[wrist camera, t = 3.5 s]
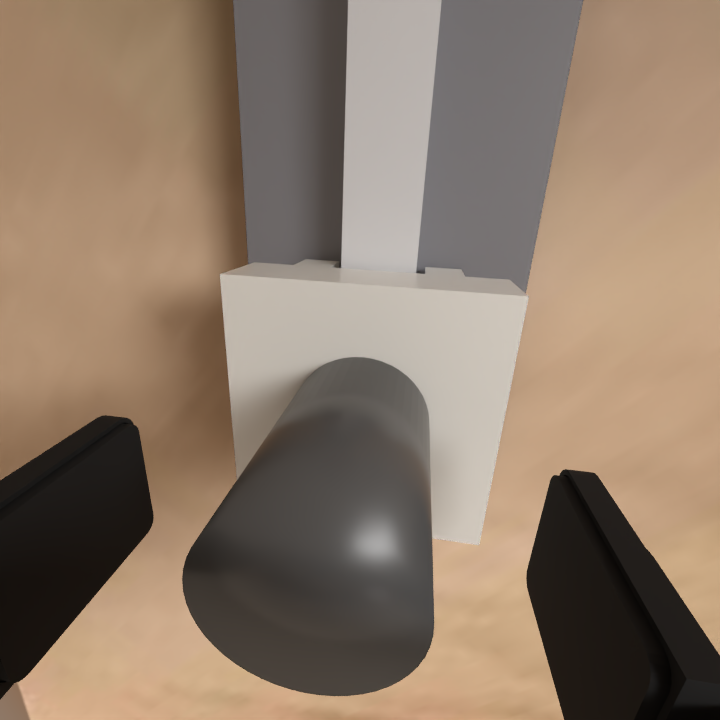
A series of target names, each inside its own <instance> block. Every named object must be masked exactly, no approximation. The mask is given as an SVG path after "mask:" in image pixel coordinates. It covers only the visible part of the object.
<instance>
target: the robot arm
mask: <svg viewBox="0 0 720 720" xmlns="http://www.w3.org/2000/svg"><path fill="white" fill-rule="evenodd" d="M152 523H153V510H152V504H151V499H150V493H149V487H148V481H147V475H146V470H145V464H144V458H143V452H142V446H141V441H140V435H139V430H138V428H137V427H136V426H135V425H133V422H132V421H131V420H130V419H128V418H123V417H114V416H101V417H98V418H97V419H95V420H94V421H92V422H90V423H89V424H87V425H86V426H84V427H83V428H81V429H80V430H78V431H76V432H75V433H73V434H72V435H70V436H69V437H67V438H66V439H64V440H62V441H61V442H59V443H58V444H56V445H55V446H53V447H52V448H50V449H49V450H47V451H45V452H44V453H42V454H41V455H39V456H38V457H36V458H35V459H33V460H31V461H30V462H28V463H27V464H25V465H24V466H22V467H21V468H19V469H17V470H16V471H14V472H13V473H11V474H10V475H8V476H7V477H5V478H4V479H2V480H0V699H1V698H2V697H3V696H4V695H5V693H6V692H7V691H8V690H9V689H10V688H11V686H12V685H13V684H14V683H16V682H19V681H21V680H22V679H23V678H25V677H26V676H27V675H28V674H29V673H30V672H31V670H32V669H33V668H34V667H35V666H36V665H37V663H38V662H39V661H40V660H41V659H42V657H43V656H44V655H45V654H46V653H47V652H48V650H49V649H50V648H51V647H52V646H53V644H54V643H55V642H56V641H57V640H58V639H59V637H60V636H61V635H62V634H63V633H64V631H65V630H66V629H67V628H68V627H69V625H70V624H71V623H72V622H73V621H74V620H75V618H76V617H77V616H78V615H79V614H80V612H81V611H82V610H83V609H84V608H85V607H86V605H87V604H88V603H89V602H90V601H91V599H92V598H93V597H94V596H95V595H96V594H97V592H98V591H99V590H100V589H101V588H102V586H103V585H104V584H105V583H106V582H107V580H108V579H109V578H110V577H111V576H112V575H113V573H114V572H115V571H116V570H117V569H118V567H119V566H120V565H121V564H122V563H123V562H124V560H125V559H126V558H127V557H128V556H129V554H130V553H131V552H132V551H133V550H134V549H135V547H136V546H137V545H138V544H139V543H140V541H141V540H142V539H143V538H144V537H145V535H146V534H147V533H148V532H149V530H150V528H151V526H152ZM527 588H528V592H529V596H530V599H531V603H532V607H533V610H534V614H535V617H536V621H537V624H538V628H539V631H540V635H541V638H542V642H543V646H544V649H545V653H546V656H547V660H548V663H549V667H550V670H551V674H552V677H553V681H554V685H555V688H556V692H557V695H558V699H559V702H560V706H561V709H562V713H563V716H564V720H720V655H719V654H718V652H717V651H716V649H715V648H714V646H713V645H712V643H711V642H710V640H709V639H708V637H707V636H706V634H705V633H704V631H703V630H702V628H701V627H700V626H699V624H698V623H697V621H696V620H695V618H694V617H693V615H692V614H691V612H690V611H689V609H688V608H687V606H686V605H685V603H684V602H683V600H682V599H681V597H680V596H679V594H678V593H677V591H676V590H675V588H674V587H673V585H672V584H671V582H670V581H669V579H668V578H667V576H666V575H665V573H664V572H663V570H662V569H661V567H660V566H659V564H658V563H657V561H656V560H655V558H654V557H653V556H652V555H651V553H650V552H649V551H648V550H647V549H646V548H645V547H644V545H643V544H642V542H641V541H640V539H639V537H638V536H637V534H636V533H635V531H634V530H633V528H632V527H631V525H630V524H629V522H628V521H627V519H626V518H625V516H624V515H623V513H622V512H621V510H620V509H619V507H618V506H617V504H616V503H615V501H614V500H613V498H612V497H611V495H610V494H609V492H608V491H607V489H606V488H605V486H604V485H603V483H602V482H601V480H600V479H599V477H598V476H597V475H596V474H595V473H592V472H583V471H575V470H566V469H565V470H563V471H562V472H561V473H560V476H557V475H554V476H553V477H552V478H551V480H550V484H549V488H548V492H547V496H546V499H545V503H544V507H543V511H542V515H541V519H540V523H539V526H538V530H537V534H536V538H535V542H534V546H533V550H532V554H531V557H530V561H529V565H528V569H527Z"/></svg>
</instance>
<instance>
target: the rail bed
mask: <svg viewBox="0 0 720 720" xmlns="http://www.w3.org/2000/svg"><path fill="white" fill-rule="evenodd" d="M582 4H583V0H233V6H234V24H235V41H236V59H237V76H238V94H239V112H240V129H241V147H242V164H243V182H244V199H245V217H246V235H247V252H248V264H251V263H254V262H257V263H272V264H287V265H294V264H297V263H299V262H301V261H303V260H305V259H312V260H327V261H339V268H346V269H361V270H375V271H390V272H405V273H420V274H425V267H434V268H449V269H461V270H462V272H463V273H464V275H465V277H479V278H493V279H508V280H511V281H512V282H513V283H514V284H515V285H516V286H517V287H519V288H520V289H521V290H522V291H523V292H524V293H525V294H526V289H527V284H528V279H529V274H530V269H531V264H532V259H533V253H534V248H535V243H536V238H537V233H538V228H539V223H540V218H541V213H542V208H543V203H544V197H545V192H546V187H547V182H548V177H549V172H550V167H551V162H552V157H553V152H554V146H555V141H556V136H557V131H558V126H559V121H560V116H561V111H562V106H563V101H564V96H565V90H566V85H567V80H568V75H569V70H570V65H571V60H572V55H573V50H574V45H575V40H576V34H577V29H578V24H579V19H580V14H581V9H582Z"/></svg>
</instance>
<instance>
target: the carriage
mask: <svg viewBox="0 0 720 720" xmlns="http://www.w3.org/2000/svg"><path fill="white" fill-rule="evenodd" d="M220 283H221V295H222V307H223V319H224V331H225V343H226V355H227V367H228V379H229V391H230V403H231V415H232V427H233V439H234V451H235V464H236V476H237V481H236V482H235V484H234V485H233V487H232V488H231V490H230V491H229V493H228V494H227V496H226V497H225V499H224V500H223V502H222V503H221V505H220V506H219V507H218V509H217V510H216V512H215V513H214V515H213V516H212V518H211V519H210V521H209V522H208V524H207V525H206V527H205V528H204V529H203V531H202V532H201V534H200V535H199V537H198V538H197V540H196V541H195V543H194V544H193V546H192V547H191V549H190V551H189V553H188V555H187V557H186V561H185V564H184V568H183V578H182V581H183V592H184V596H185V600H186V604H187V606H188V608H189V611H190V613H191V615H192V617H193V619H194V621H195V622H196V624H197V626H198V627H199V628H200V630H201V631H202V633H203V634H204V635H205V637H206V638H207V639H208V640H209V641H210V642H211V643H212V644H213V645H214V646H215V647H216V648H217V649H218V650H219V651H220V652H221V653H222V654H224V655H225V656H226V657H227V658H229V659H230V660H231V661H233V662H234V663H235V664H237V665H238V666H240V667H242V668H243V669H245V670H246V671H248V672H250V673H252V674H254V675H256V676H258V677H260V678H261V679H264V680H266V681H269V682H271V683H273V684H276V685H279V686H282V687H285V688H288V689H291V690H296V691H300V692H304V693H310V694H316V695H327V696H350V695H359V694H365V693H370V692H374V691H378V690H380V689H383V688H386V687H389V686H391V685H393V684H395V683H397V682H399V681H400V680H402V679H403V678H405V677H406V676H408V675H409V674H410V673H411V672H412V671H414V670H415V669H416V668H417V667H418V666H419V664H420V663H421V662H422V660H423V659H424V658H425V656H426V654H427V652H428V650H429V648H430V645H431V641H432V638H433V631H434V599H433V556H432V538H433V539H440V540H447V541H454V542H461V543H467V544H474V545H479V543H480V538H481V533H482V528H483V523H484V518H485V513H486V508H487V503H488V498H489V493H490V488H491V483H492V478H493V473H494V468H495V463H496V458H497V453H498V448H499V443H500V438H501V433H502V428H503V423H504V418H505V413H506V408H507V403H508V398H509V393H510V388H511V383H512V378H513V373H514V368H515V363H516V358H517V353H518V348H519V343H520V338H521V333H522V328H523V323H524V318H525V313H526V308H527V303H528V298H529V296H528V295H527V294H525V293H524V292H523V291H522V290H521V289H520V288H519V287H517V286H516V285H515V284H514V283H513V282H512V281H511V280H508V279H493V278H479V277H465V275H464V273H463V272H462V270H461V269H449V268H434V267H425V274H420V273H405V272H390V271H375V270H361V269H346V268H339V261H327V260H312V259H305V260H303V261H301V262H299V263H297V264H294V265H287V264H272V263H257V262H254V263H251V264H248V265H245V266H242V267H239V268H236V269H233V270H230V271H227V272H224V273H221V274H220Z"/></svg>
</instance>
